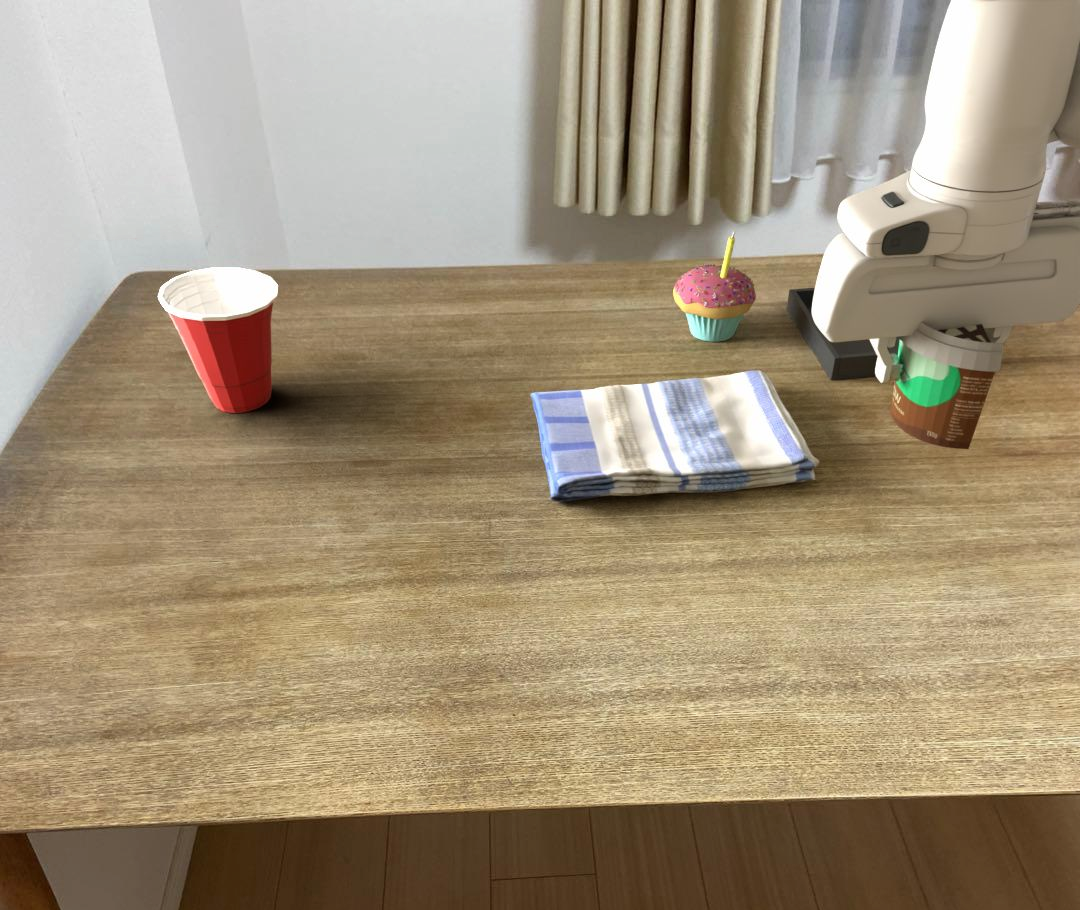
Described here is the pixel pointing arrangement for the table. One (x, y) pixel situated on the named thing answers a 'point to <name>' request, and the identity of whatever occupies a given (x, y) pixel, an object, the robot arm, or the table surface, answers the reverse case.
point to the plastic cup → (226, 332)
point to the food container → (944, 383)
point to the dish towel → (670, 438)
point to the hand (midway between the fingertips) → (928, 374)
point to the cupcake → (715, 298)
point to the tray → (833, 356)
